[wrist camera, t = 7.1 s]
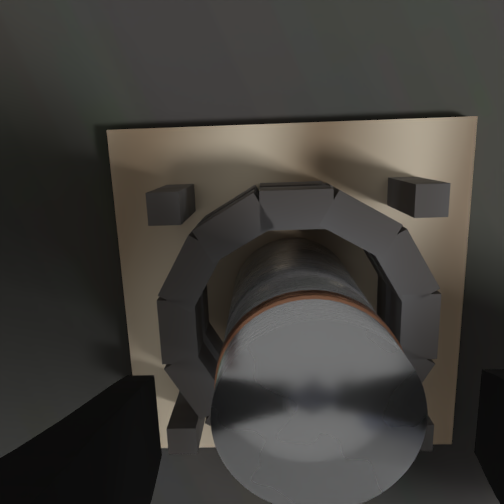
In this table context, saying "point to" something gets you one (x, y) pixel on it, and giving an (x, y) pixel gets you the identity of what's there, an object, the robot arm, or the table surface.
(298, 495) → the grey cylinder
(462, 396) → the table surface
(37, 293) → the table surface
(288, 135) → the collar plate
